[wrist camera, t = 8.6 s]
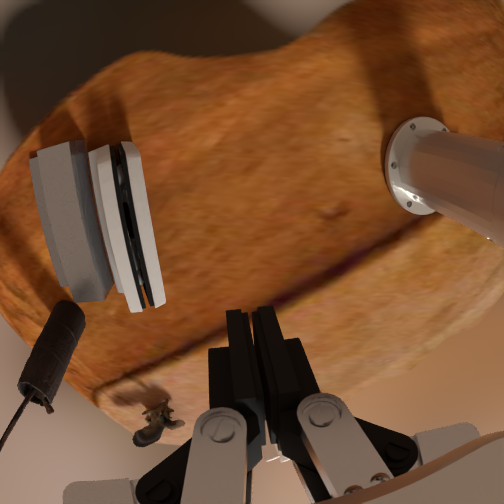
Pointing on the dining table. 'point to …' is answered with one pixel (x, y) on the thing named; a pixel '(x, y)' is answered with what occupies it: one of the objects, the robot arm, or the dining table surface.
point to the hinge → (115, 228)
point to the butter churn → (49, 359)
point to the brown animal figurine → (156, 425)
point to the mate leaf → (71, 220)
